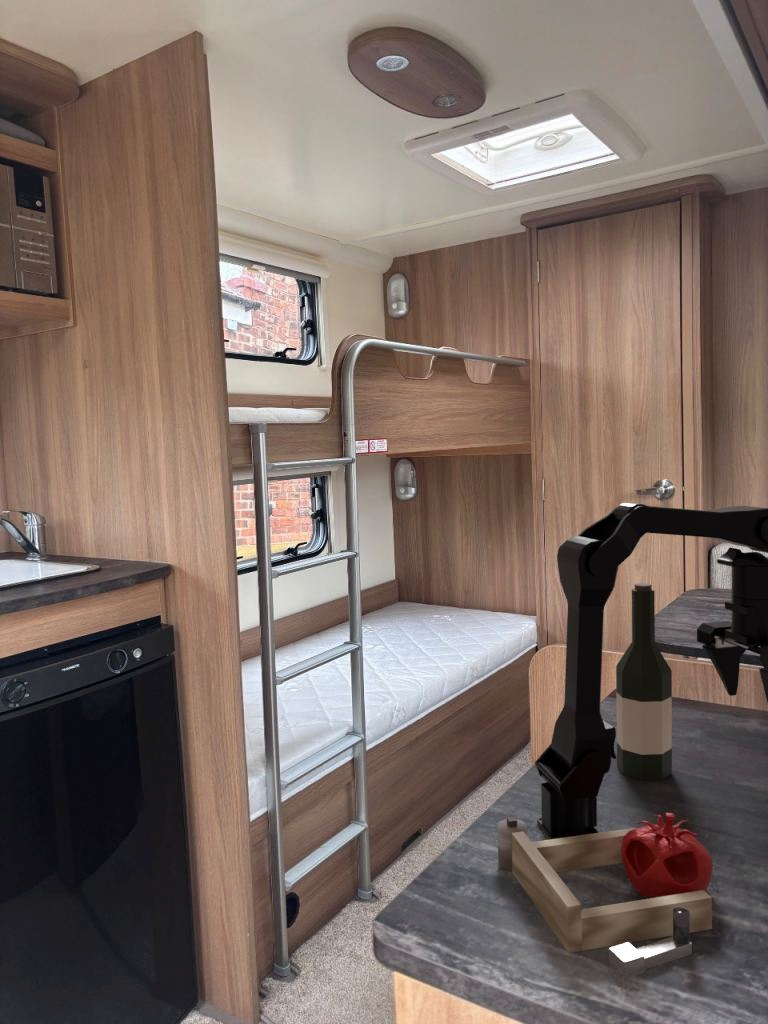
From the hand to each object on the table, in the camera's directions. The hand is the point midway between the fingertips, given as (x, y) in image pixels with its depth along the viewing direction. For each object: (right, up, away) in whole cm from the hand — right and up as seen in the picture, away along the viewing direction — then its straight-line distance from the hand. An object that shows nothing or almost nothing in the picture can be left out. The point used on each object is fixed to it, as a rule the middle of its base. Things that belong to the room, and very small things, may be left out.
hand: (753, 704), depth 110 cm
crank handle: (-25, -18, -31) cm, 44 cm away
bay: (-28, -17, -19) cm, 38 cm away
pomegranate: (-19, -17, -19) cm, 32 cm away
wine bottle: (-11, -14, +14) cm, 23 cm away
